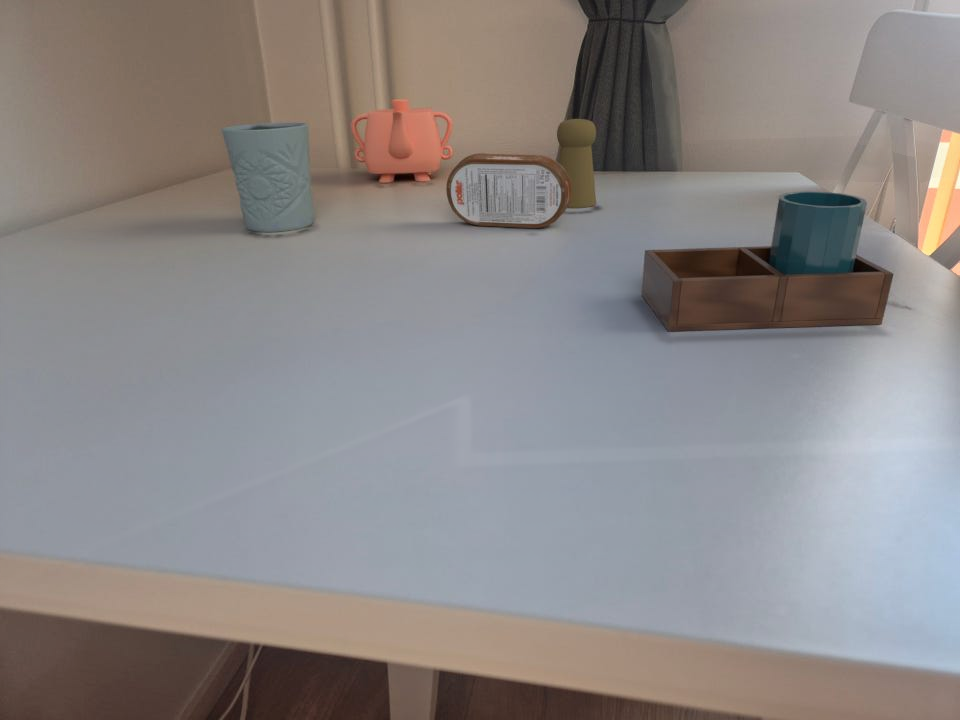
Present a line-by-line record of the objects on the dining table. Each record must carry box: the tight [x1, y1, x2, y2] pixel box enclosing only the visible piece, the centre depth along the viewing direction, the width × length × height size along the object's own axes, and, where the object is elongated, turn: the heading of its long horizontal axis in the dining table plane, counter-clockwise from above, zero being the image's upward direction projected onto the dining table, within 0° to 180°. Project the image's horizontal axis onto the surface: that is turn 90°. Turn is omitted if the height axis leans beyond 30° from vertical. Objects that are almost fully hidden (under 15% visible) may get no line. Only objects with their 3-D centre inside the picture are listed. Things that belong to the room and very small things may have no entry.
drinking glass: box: [221, 122, 315, 233], centre depth 84 cm, size 10×10×12 cm
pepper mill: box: [556, 118, 597, 209], centre depth 91 cm, size 6×6×11 cm
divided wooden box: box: [640, 245, 894, 332], centre depth 54 cm, size 16×8×4 cm, turn 91°
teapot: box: [350, 98, 454, 184], centre depth 114 cm, size 15×17×13 cm
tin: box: [445, 152, 571, 229], centre depth 81 cm, size 15×3×8 cm, turn 74°
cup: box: [768, 190, 868, 275], centre depth 53 cm, size 6×6×8 cm
